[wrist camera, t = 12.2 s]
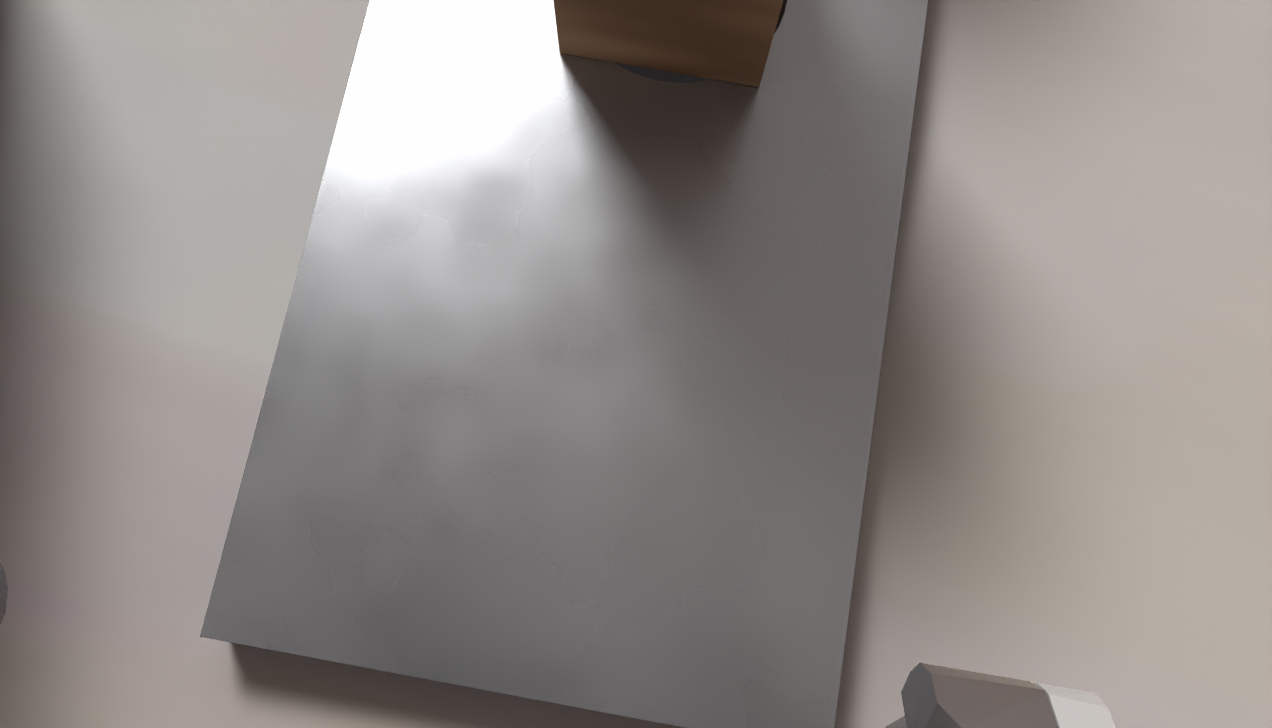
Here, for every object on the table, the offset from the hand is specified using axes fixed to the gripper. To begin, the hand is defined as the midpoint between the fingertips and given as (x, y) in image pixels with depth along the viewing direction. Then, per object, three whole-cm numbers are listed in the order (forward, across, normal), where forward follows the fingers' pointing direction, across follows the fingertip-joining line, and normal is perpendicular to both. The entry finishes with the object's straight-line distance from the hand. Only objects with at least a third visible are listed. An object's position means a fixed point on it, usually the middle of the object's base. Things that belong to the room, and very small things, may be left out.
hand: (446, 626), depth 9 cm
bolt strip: (+16, 0, -2) cm, 16 cm away
